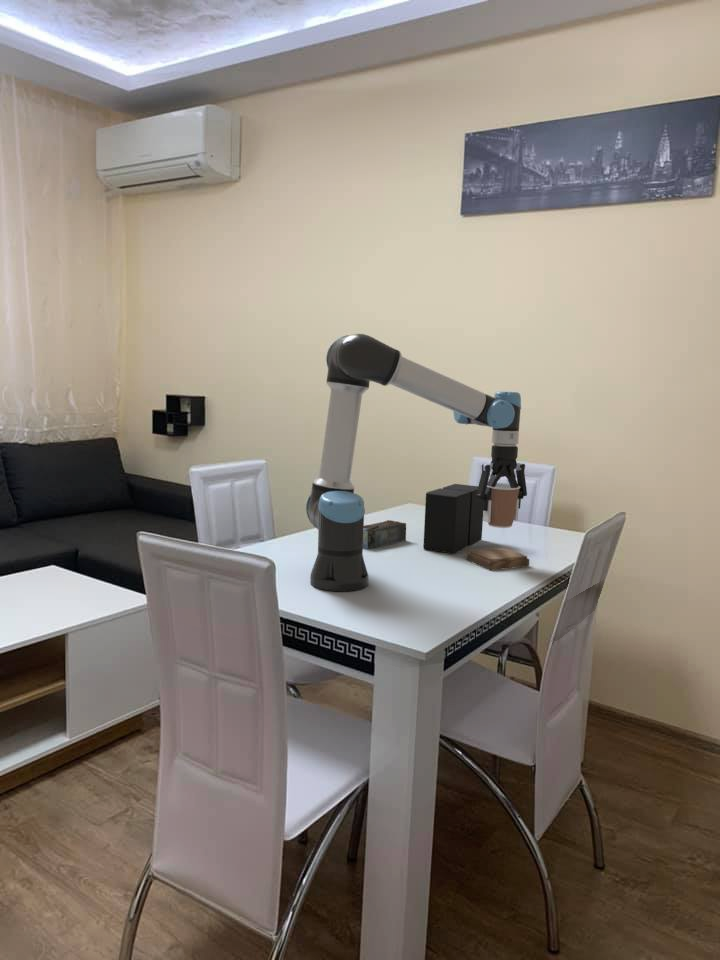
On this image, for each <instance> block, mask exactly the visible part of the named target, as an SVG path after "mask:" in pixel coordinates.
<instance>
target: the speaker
mask: <svg viewBox="0 0 720 960" xmlns="http://www.w3.org/2000/svg"><path fill="white" fill-rule="evenodd" d="M478 486H479V485H478ZM478 486H477V485H470V484H469V485H468V484H460V483H454V484H450V485H447V486H443V487H442V488H437V489H434V490H430V491H427V492H426V494H425V503H424V505H425V507H424V508H425V509H424V528H423V530H424V531H423V545H422V547H423V550H427V551H434V552H442V553H446V554H447V553H448V554H450V553H451V555H454V554H455V555H456V554H457V553H459V552H461V551H463V550H465V549H467V548H468V547H470V546H472V545H474V544H477V543H478V542H480V541H481V540H482V538H483V523H484V521H483V510H482V499H481V498H479V497H477V496H476V493H477V490H478Z"/></svg>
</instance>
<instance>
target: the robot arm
mask: <svg viewBox="0 0 720 960" xmlns="http://www.w3.org/2000/svg"><path fill="white" fill-rule="evenodd" d="M325 359H326V366H327V374H326V385H327V386H328V387H329V389H330V396H329V401H328V402H329V404H328V407H327V408H328V409H327V410H328V411H327V417H326V424H325V432H324V439H323V445H322V453H321V460H320V468H319V475H318V477H316V478H315V479H314V480H313V481H312V485H311V492H310V494H309V496H308V497H307V501H306V504H305V506H306V507H305V511H306V515H307V518H308V520H309V522H310V523H311V525H312V526H313V527H314V528H315V529H316V530H317V531H318V536H317V537H318V539H317V540H318V541H317V555H316V557H315V561H314V564H313V566H312V569H311V572H310V577H309V578H310V579H309V580H310V584H311V586H313V587H315V588H317V589H320V590H325V591H331V592H352V591H353V592H354V591H359V590H362V589H364V588H366V587H368V585H369V573H368V569H367V566H366V563H365V559H364V555H363V553H364V551H363V549H364V548H363V529H364V526H365V524H364V521H365V513H366V511H365V510H366V509H365V501H364V498H363V497H362V496H361V495H359V494H358V493H355V492H354V491H355V486H354V484H353V483H352V482H351V476H352V475H351V474H352V469H353V462H354V461H353V460H354V453H355V447H356V440H357V433H358V426H359V419H360V412H361V404H362V397H363V394H364V393H366V392H367V391H368V390H369V389H370V382H373V383H376V384H379V385H382V386H384V387H386V386H389V385H391V386H394V387H396V388H398V389H401V390H403V391H405V392H408V393H410V394H413V395H415V396H417V397H420V398H422V399H425V400H427V401H429V402H432V403H433V404H436V405H439V406H441V407H442V408H446V409H448V410H451V411H453V417H454V418H453V419H454V420H455V422H456V423H457V424H459V425H477V426H481V427H482V426H483V427H488V428H492V436H491V443H492V445H491V453H490V454H491V461H490V463H487V464H486V463H482V464H481V473H480V479H479V482H478V490H477V493H476V496H477V497H479V498H481V499H482V510H483V522H485V523H487V524H488V523H489V522H490V517H491V501H492V500H489V498H490V496H491V490H492V488H489V487H487V486H490V487H495V486H496V484H497V483H499V480H500V479H501V478H503V477H505V478H506V479H507V481H508V484H510V487H511V488H518V486H520V489H519V493H518V499H517V504H516V510H515V515H514V520H513V521H515V522H516V521H519V519H518V518H519V510H520V508H521V502H522V500H523V499H524V497H527V495H528V492H527V484H526V475H525V469H526V464H525V463H522V462H521V463H520V462H518V461H517V459H518V452H519V447H518V446H517V445H518V444H519V435H520V433H519V432H520V420H521V409H522V399H521V397H522V396H521V394H520V392H517V391H496V392H495V393H494V396H491V395H489V394H486V393H484V392H482V391H480V390H478V389H475V388H473V387H472V386H468V385H466V384H465V383H463V382H460V381H458V380H456V379H454V378H450V377H449V376H446V375H444V374H442V373H440V372H437V371H435V370H432V369H431V368H428V367H426V366H423V365H422V364H419V363H417V362H415V361H413V360H410V359H408V358H406V357H404V356H403V355H402V353H401V350H398V349H396V348H393V347H392V346H390V345H388V344H386V343H385V342H382V341H380V340H378V339H376V338H375V337H372V336H371V335H368V334H364V333H354V334H350V335H343V336H340V337H338V338H337V339H335V341H334V342H332V344H331V345H330V346H329V347H328V350H327V353H326V358H325ZM517 462H518V463H517Z"/></svg>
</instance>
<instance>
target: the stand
mask: <svg viewBox="0 0 720 960" xmlns="http://www.w3.org/2000/svg"><path fill="white" fill-rule="evenodd" d="M465 560H466V561H468V562H470V563H472V562H473V563H472V564H474V563H475V565H477V566H479V565H480V567H481V566H482V568H483V567H484V568H483V569H485V568H486V569H485V570H487V569H489V570H488V571H493V570H492V569H497V570H503V569H502V568H508V569H513V568H512V567H518V568H526V567H525V566H530V559H529V558H528V556H527V555H524V554H522V553H520V552H517V551H515V550H513V549H510V548H507V547H497V548H485V549H484V548H483V549H472V550H471V549H470V550H468V552H466V559H465ZM523 566H524V567H523Z"/></svg>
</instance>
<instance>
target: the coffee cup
mask: <svg viewBox="0 0 720 960" xmlns="http://www.w3.org/2000/svg"><path fill="white" fill-rule="evenodd" d="M487 487H489V488H492V490H491V496H490V498H489V500H492V501H491V517H490V522H489V523H488V522H487V524H488V526H489V527H492V528H498V529H499V528H500V529H508V528H512V526H513V523H514V521H515V520H514V515H515V510H516V504H517V499H518V493H519V489H520V486H518V488H511V487H510V484H509V483H503V482H497V484H496V486H495V487H490V486H487Z"/></svg>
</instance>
